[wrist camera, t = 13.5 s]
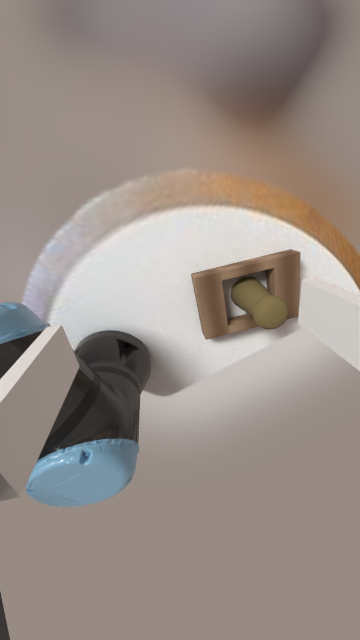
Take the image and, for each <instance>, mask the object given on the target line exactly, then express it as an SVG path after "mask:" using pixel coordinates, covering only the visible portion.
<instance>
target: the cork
mask: <svg viewBox="0 0 360 640" xmlns="http://www.w3.org/2000/svg"><path fill="white" fill-rule="evenodd" d="M231 298H232V301H233V302H234V303H235V304H236V305H237V306H239V307H240V308H242V309H243V310H245V311H246V312H248V313H249V314H251V315H252V316H253V320H254V321H255V322H256V324H257V325H258V326H260V327H262V328H264V329H274V328H277V327H279V326H281V325H282V324H283V323H284V322H285V321H286V319H287V317H288V312H289V309H288V305H287V304H286V302H285V301H284V300H283V299H282V298H280V297H278V296H275V295H271V294H270V292H269V291H268V290H267V289H266V288H265V287H264V286H263V285H262V284H261V282H260V281H259V280H258V279H256V278H255V277H250V276H249V277H243V278H241V279H239V280H238V281H237V282H236V283H235V284H234V286H233V287H232V290H231Z"/></svg>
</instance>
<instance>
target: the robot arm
mask: <svg viewBox="0 0 360 640" xmlns="http://www.w3.org/2000/svg"><path fill="white" fill-rule="evenodd" d="M298 324H299V325H300V326H301V327H303V328H304V329H305V330H306V331H308V332H309V333H310V334H312V335H313V336H314V337H316V338H317V339H318V340H320V341H321V342H322V343H324V344H325V345H327V346H328V347H329V348H330V349H332V350H333V351H334V352H336V353H337V354H338V355H340V356H341V357H342V358H344V359H345V360H346V361H347V362H349V363H350V364H351V365H353V366H354V367H355V368H357V369H358V370H359V371H360V295H359V294H356V293H354V292H351V291H349V290H346V289H344V288H341V287H339V286H336V285H333V284H331V283H328V282H326V281H323V280H321V279H318V278H316V277H314V278H309V279H304V280H302V285H301V295H300V305H299V316H298ZM150 369H151V361H150V356H149V353H148V351H147V349H146V347H145V346H144V345H143V344H142V343H141V342H140V341H139V340H138V339H137V338H135V337H133V336H131V335H129V334H127V333H124V332H120V331H101V332H97V333H94V334H91V335H89V336H87V337H86V338H84V339H83V340H82V341H81V342H80V343H79V344H78V346H77V347H76V349H75V351H74V350H73V349H72V348H71V345H70V343H69V341H68V339H67V336H66V334H65V332H64V329H63V327H62V325H57V326H50V324H47V323H45V322H44V321H42V320H41V319H40V318H39V317H38V316H37V315H36V314H34V313H33V312H32V311H31V310H30V309H29V308H28V307H26V306H25V305H23V304H20V303H17V302H5V303H1V304H0V501H4V500H8V499H13V498H18V497H21V495H22V493H23V491H24V489H25V487H26V492H27V494H28V495H29V496H30V497H31V498H33V499H34V500H36V501H38V502H40V503H43V504H47V505H51V506H62V507H72V506H83V505H89V504H93V503H97V502H100V501H103V500H106V499H108V498H110V497H112V496H114V495H116V494H117V493H119V492H120V491H122V490H123V489H124V488H125V487H126V486H127V485H128V484H129V482H130V481H131V480H132V478H133V475H134V472H135V468H136V459H137V454H138V451H139V446H138V437H139V409H140V394H141V392H142V390H143V388H144V386H145V384H146V383H147V381H148V378H149V375H150ZM0 640H10V638H9V633H8V628H7V623H6V618H5V613H4V608H3V604H2V598H1V593H0Z"/></svg>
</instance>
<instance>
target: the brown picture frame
mask: <svg viewBox="0 0 360 640" xmlns="http://www.w3.org/2000/svg"><path fill="white" fill-rule="evenodd" d="M263 270H266V279H267V290H268V291H269V292H270V294H271V295H275V296H278V297H280V298H282V299H283V300H284V301H285V302H286V304H287V305H288V309H289V312H288V317H287V319H290V318H294V317H298V316H299V284H300V252H298V251H294V250H291V249H290V250H286V251H282V252H278V253H274V254H270V255H266V256H262V257H258V258H253V259H249V260H245V261H241V262H237V263H233V264H229V265H225V266H221V267H217V268H213V269H209V270H205V271H201V272H197V273H193V274H191V276H192V281H193V286H194V292H195V297H196V302H197V307H198V312H199V317H200V322H201V327H202V332H203V334H204V337H205V339H210V338H214V337H218V336H222V335H226V334H230V333H234V332H238V331H242V330H246V329H250V328H254V327H258V325H257V324H256V322H255V321H254V320H253V316H252V315H251V314H245V315H241V316H237V317H233V318H229V319H227V315H226V307H225V300H224V292H223V285H222V280H226V279H230V278H234V277H238V276H242V275H247V274H251V273H255V272H259V271H263Z"/></svg>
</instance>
